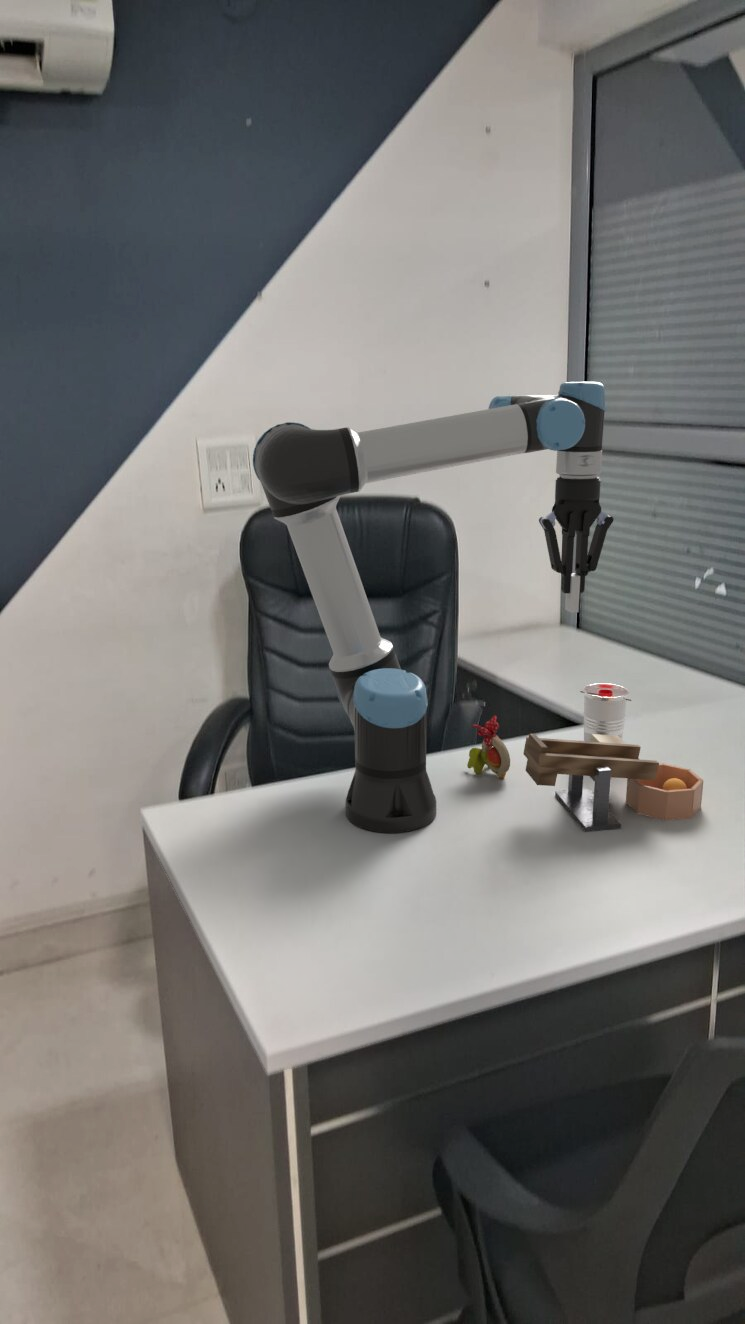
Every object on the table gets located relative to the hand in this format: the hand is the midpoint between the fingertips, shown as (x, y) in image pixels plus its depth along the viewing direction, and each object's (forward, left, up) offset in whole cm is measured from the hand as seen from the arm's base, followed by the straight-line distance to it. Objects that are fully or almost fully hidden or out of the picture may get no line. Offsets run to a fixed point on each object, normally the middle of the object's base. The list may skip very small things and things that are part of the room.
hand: (571, 610), depth 175 cm
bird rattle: (-9, -11, -30) cm, 33 cm away
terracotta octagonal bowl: (+21, -7, -29) cm, 37 cm away
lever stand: (+12, -16, -29) cm, 36 cm away
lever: (+9, -14, -24) cm, 29 cm away
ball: (+22, -5, -27) cm, 35 cm away
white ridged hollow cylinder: (+3, +11, -30) cm, 32 cm away
